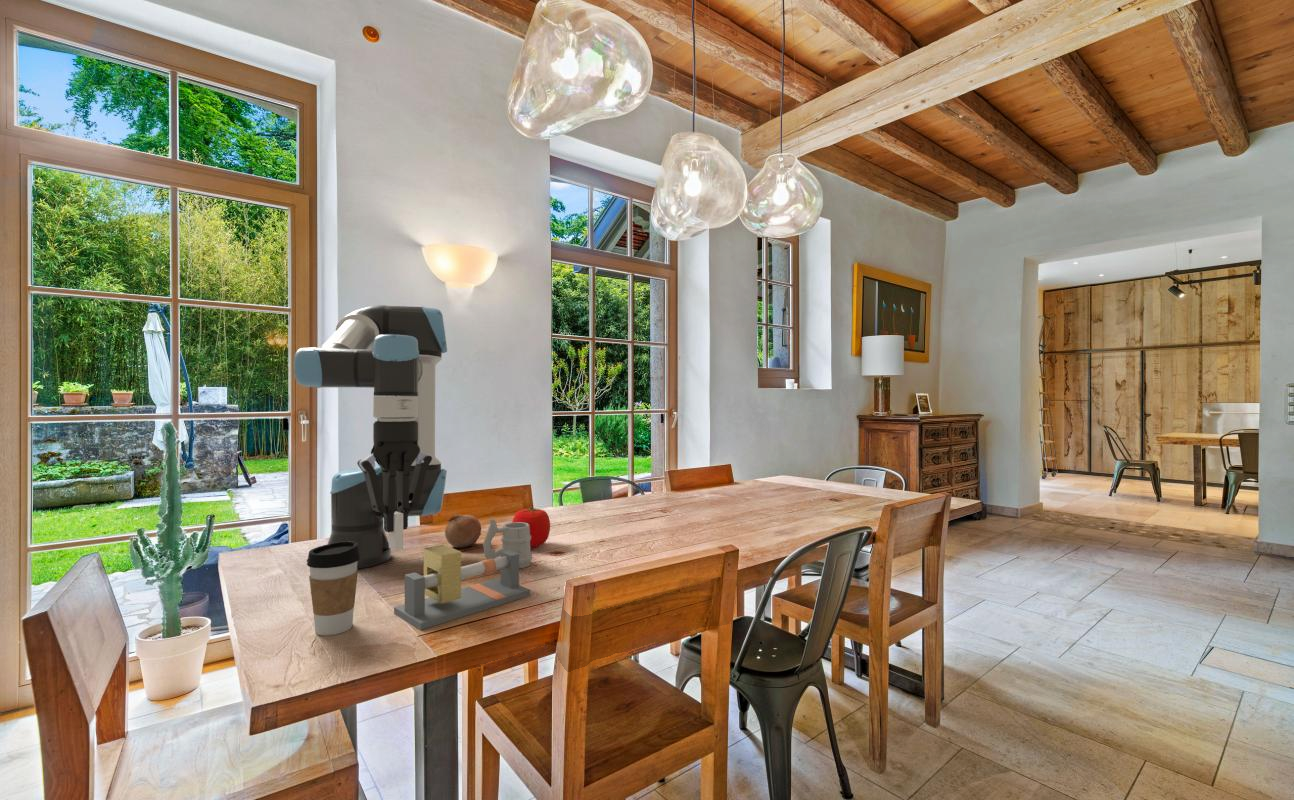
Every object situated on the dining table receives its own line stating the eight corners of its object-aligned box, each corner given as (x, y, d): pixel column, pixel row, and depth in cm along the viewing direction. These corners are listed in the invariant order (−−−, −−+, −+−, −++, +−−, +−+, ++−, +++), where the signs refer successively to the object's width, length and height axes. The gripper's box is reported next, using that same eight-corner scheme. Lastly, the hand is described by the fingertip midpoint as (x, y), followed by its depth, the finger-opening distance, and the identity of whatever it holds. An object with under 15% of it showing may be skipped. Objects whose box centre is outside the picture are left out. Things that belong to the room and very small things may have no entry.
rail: (394, 613, 110) (394, 571, 110) (501, 582, 128) (501, 546, 128) (420, 630, 103) (420, 585, 103) (530, 595, 120) (530, 556, 120)
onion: (450, 560, 154) (432, 529, 151) (462, 541, 163) (446, 512, 160) (481, 549, 152) (464, 518, 150) (491, 531, 161) (475, 501, 159)
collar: (423, 594, 113) (423, 548, 112) (442, 589, 115) (442, 544, 115) (441, 603, 108) (441, 556, 107) (460, 598, 111) (461, 551, 110)
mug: (535, 567, 139) (535, 518, 139) (485, 573, 134) (485, 522, 134) (528, 558, 146) (528, 512, 146) (480, 564, 141) (481, 515, 141)
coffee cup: (367, 628, 103) (367, 546, 103) (316, 643, 97) (316, 556, 97) (349, 615, 109) (349, 537, 109) (300, 629, 103) (299, 546, 102)
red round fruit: (512, 542, 161) (512, 504, 161) (549, 540, 163) (550, 503, 163) (510, 552, 151) (510, 512, 151) (550, 551, 153) (550, 511, 153)
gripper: (367, 421, 97) (367, 559, 97) (439, 419, 106) (439, 545, 107) (350, 420, 102) (350, 551, 102) (421, 418, 111) (420, 538, 112)
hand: (395, 548), depth 104 cm, fingers closed
